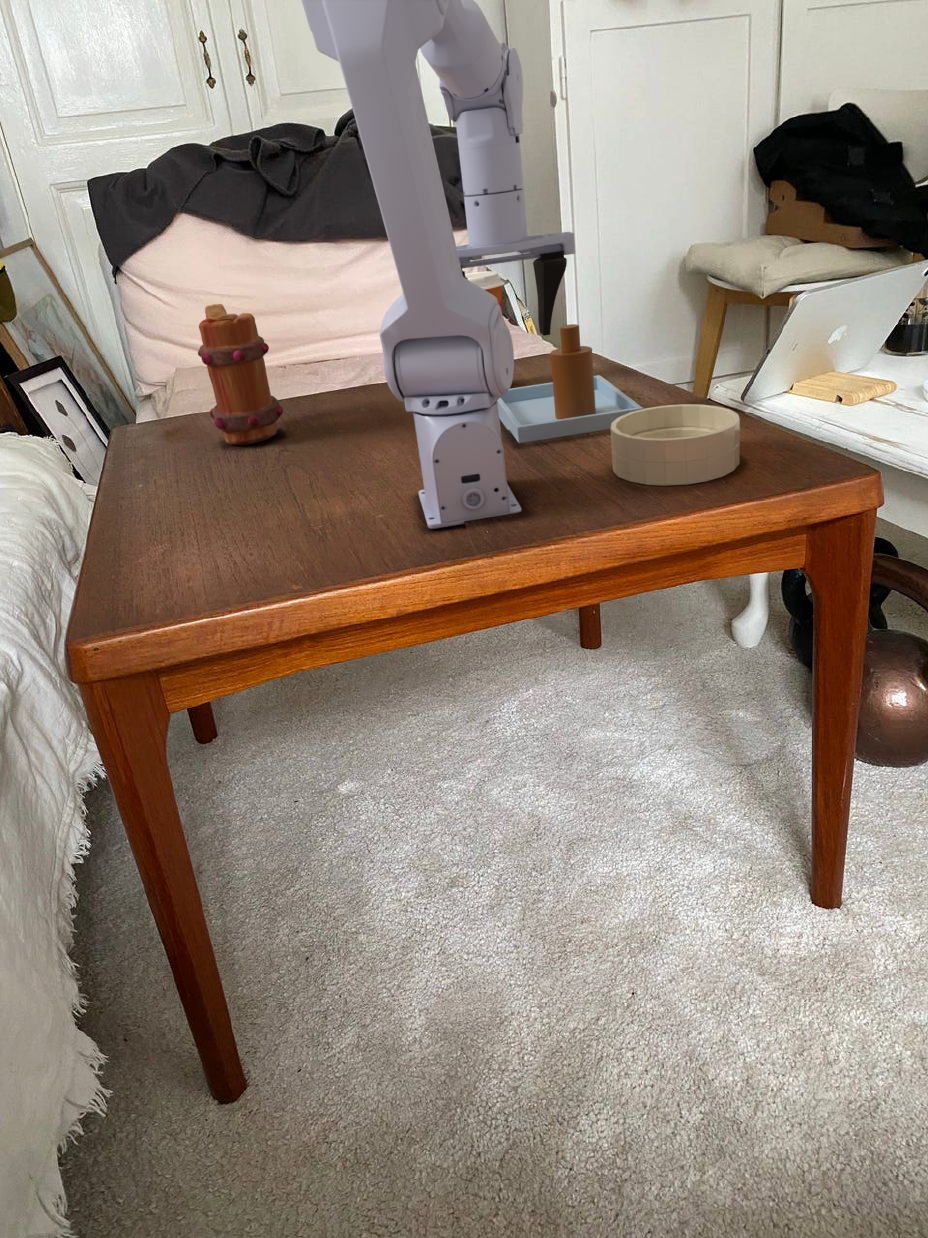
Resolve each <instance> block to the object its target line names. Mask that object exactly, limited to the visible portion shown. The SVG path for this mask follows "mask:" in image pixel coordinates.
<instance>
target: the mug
mask: <svg viewBox="0 0 928 1238" xmlns="http://www.w3.org/2000/svg"><path fill="white" fill-rule="evenodd" d="M204 313H205V319H203V320H201V322H199V324H198V330H199V332H200V337H201V343H202V344H201V345H200V346H199V349H198V351H197V355H198V357H200V358H201V362H202V364H204V365H206V369H207V373H208V376H209V380H210V382H211V386H212V390H213V395H214V400H215V403H216V405H215V406H214V407H213V408H210V410H209V417H211V418H212V419H213V420H214V426H215V427H216V428H217V429H218V430H220V431H222V434H223V435H222V436H223V438H224V441H225V443H227V444H229V445H234V446H243V445H246V446H247V445H251V444H252V445H253V444H256V443H261V442H265V441H266V440H269V439H270V438H272V437H274V436H275V435H276V434H277V432H278V425H277V422H278V420H279V419H280V418H281V416H282V415H283V413H284V408H283V406H281V405H280V403H279V400H278V398H276V397H275V396H274V395H272V394H271V389H270V384H269V380H268V379H269V378H268V374H267V368H266V362H265V358H264V356H265V355H266V354H267V353H268V352H269V350H270V346H269V344H268V343H266V342H265V339H264V338H263V336H260V335H259V331H258V328H257V327H258V326H257V324H256V319H255V316H254V315H253V314H252V313H249V312H242V313H239V314H237V313H227V310H226V308H225V306H224V305H223V303H217V304H210V305H206V306H205V307H204Z"/></svg>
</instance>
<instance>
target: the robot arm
mask: <svg viewBox="0 0 928 1238" xmlns="http://www.w3.org/2000/svg"><path fill="white" fill-rule="evenodd" d="M301 3H302V7H303V11H304V14H305V17H306V21H307V24H308V28H309V30H310V32H311V34H312V37H313V41H314V44H315V48H316V50H317V51H318V52H319V53H320V54H322V55H324V56H326V57H328V58H330V59H333V60H334V61H336V62H338V63H339V66H340V70H341V73H342V77H343V80H344V84H345V88H346V91H347V94H348V98H349V102H350V104H351V109H352V112H353V115H354V119H355V123H356V127H357V130H358V134H359V137H360V141H361V145H362V149H363V152H364V155H365V159H366V163H367V167H368V170H369V175H370V178H371V181H372V184H373V189H374V191H375V196H376V199H377V203H378V207H379V210H380V214H381V218H382V221H383V226H384V229H385V232H386V236H387V239H388V244H389V246H390V251H391V253H392V258H393V261H394V265H395V269H396V272H397V276H398V279H399V283H400V287H401V290H402V291H401V292H402V293H401V295H400V296H399V297H398V298H397V299H396V300H395V301H394V302H393V303H392V304H391V305H390V306H389V308H388V309H387V310H386V312H385V314H384V316H383V319H382V322H381V326H380V330H379V339H380V343H381V349H382V354H383V368H384V369H383V370H384V376H385V380H386V383H387V386H388V388H389V390H390V392H391V393H392V394H393V395H394V397H395V398H396V399H397V400H398V401H399V402H400V403H404V409H405V412H407V413H412V415H413V421H414V427H415V435H416V441H417V450H418V456H419V462H420V470H421V476H422V483H423V489H421V490H418V492H417V493H418V498H419V501H420V505H421V508H422V511H423V515H424V519H425V522H426V525H427V528H428V529H430V530H433V529H434V530H435V529H440V528H448V527H453V526H460V525H465V524H466V523H465V522H467V521H473V520H480V519H487V518H492V517H499V516H505V515H510V514H518V513H521V512H522V507H521V505H520V503H519V501H518V500H517V498H516V496H515V495H514V494H513V491H512V489H511V487H510V486H509V484H508V480H507V471H506V470H507V469H506V461H505V451H504V445H503V439H502V430H501V420H500V418H499V410H498V401H497V400H498V399H499V398H500V397H503V396H504V395H505V394H506V393H507V391H508V390H509V389H511V387H512V384H513V381H514V373H515V353H514V352H515V351H514V343H513V338H512V334H511V331H510V328H509V327H508V326H507V324H506V322H505V319H504V316H503V315H502V314H503V310H502V311H501V307H500V306H499V305H498V301H497V298H496V297H495V296H494V295H492V294H490V293H489V292H487V291H486V290H484V289H482V288H480V287H479V286H477V285H475V284H473V283H472V282H470V281H469V280H468V278H466V277H465V274H466V271H465V270H463V269H470V268H476V267H483V266H489V265H490V266H491V265H498V264H504V263H511V262H512V263H513V262H519V261H525V260H533V259H534V261H533V262H532V266H533V273H534V278H535V285H536V294H537V317H538V318H537V319H538V330H539V334H541V335H542V336H543V337H545V336H550V335H551V329H552V328H551V327H552V319H553V312H554V307H555V303H556V298H557V295H558V292H559V288H560V285H561V282H562V279H563V277H564V274H565V272H566V269H567V266H568V265H567V264H568V259H567V258H566V257H565V256H569V255H575V254H576V242H575V233H574V232H571V231H563V232H556V233H547V234H538V235H529V234H528V225H527V224H528V222H527V211H526V210H527V209H526V200H525V189H524V187H525V186H524V176H523V163H522V152H521V140H520V139H521V138H520V135H521V134H523V132H524V131H523V129H524V128H523V127H524V121H523V101H524V78H523V70H522V65H521V60H520V57H519V53H518V50H517V49H516V48H514V47H512V48H509V46H508V44H507V43H505V42H501V43H499V40H498V38H497V36H496V35H495V32H494V31H493V29H492V27H491V25H490V23H489V22H488V20H487V18H486V16H485V15H484V12H483V10H482V9H481V7H480V6H479V4H478V3H477V2H476V1H475V0H301ZM419 50H420V53H421V54H422V56H423V57H424V59H425V60H426V62H427V64H428V65H429V66H430V67H431V69H432V70H433V71H434V73H435V74H436V76H437V77H438V79H439V90H440V93H441V95H442V97H443V100H444V101H443V102H444V105H445V109H446V112H447V114H448V115H447V116H448V117H449V119H450V121H452V122H454V123H455V127H456V129H455V130H456V137H457V138H456V139H457V146H458V155H459V166H460V174H461V183H462V191H463V193H462V194H463V201H464V211H465V219H466V227H467V228H466V229H467V230H466V231H467V237H468V244H463V245H457V243H456V239H455V234H454V230H453V226H452V221H451V217H450V213H449V208H448V203H447V199H446V194H445V190H444V186H443V181H442V176H441V172H440V168H439V162H438V159H437V154H436V150H435V145H434V141H433V137H432V131H431V127H430V123H429V119H428V113H427V109H426V104H425V100H424V96H423V90H422V86H421V83H420V77H419V73H418V68H417V62H416V61H417V56H418V53H419ZM516 252H517V253H520V254H514V255H513V254H512V255H507V256H499V257H492V258H484V259H483V257H485V256H496V255H502V254H503V255H504V254H509V253H510V254H511V253H516Z"/></svg>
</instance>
